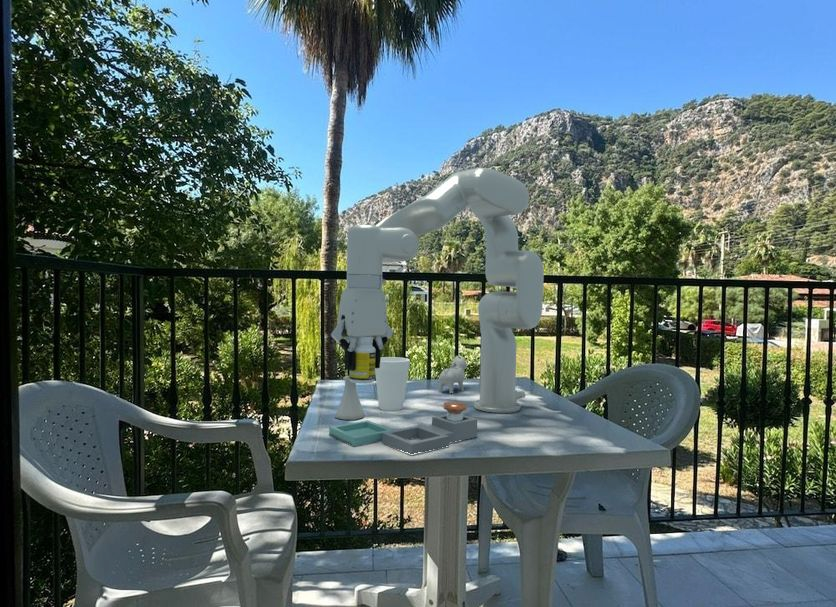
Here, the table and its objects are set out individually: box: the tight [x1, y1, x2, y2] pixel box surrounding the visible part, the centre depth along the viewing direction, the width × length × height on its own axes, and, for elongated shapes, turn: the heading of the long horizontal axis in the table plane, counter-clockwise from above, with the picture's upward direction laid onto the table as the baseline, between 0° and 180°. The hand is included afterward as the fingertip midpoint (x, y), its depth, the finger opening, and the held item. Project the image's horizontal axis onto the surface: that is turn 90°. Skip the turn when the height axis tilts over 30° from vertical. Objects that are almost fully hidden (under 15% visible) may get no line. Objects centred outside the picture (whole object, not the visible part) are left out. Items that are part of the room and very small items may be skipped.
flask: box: [334, 375, 365, 421], centre depth 129 cm, size 7×7×10 cm
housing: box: [381, 413, 478, 454], centre depth 110 cm, size 19×10×4 cm, turn 129°
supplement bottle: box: [348, 337, 376, 384], centre depth 112 cm, size 5×5×10 cm
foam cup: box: [375, 356, 411, 412], centre depth 139 cm, size 10×9×13 cm
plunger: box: [443, 400, 467, 422], centre depth 114 cm, size 5×5×7 cm
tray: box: [328, 420, 394, 447], centre depth 112 cm, size 10×10×2 cm
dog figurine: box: [438, 355, 468, 393], centre depth 164 cm, size 5×13×11 cm, turn 147°
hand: (362, 367), depth 112 cm, fingers closed on supplement bottle, 5 cm apart
